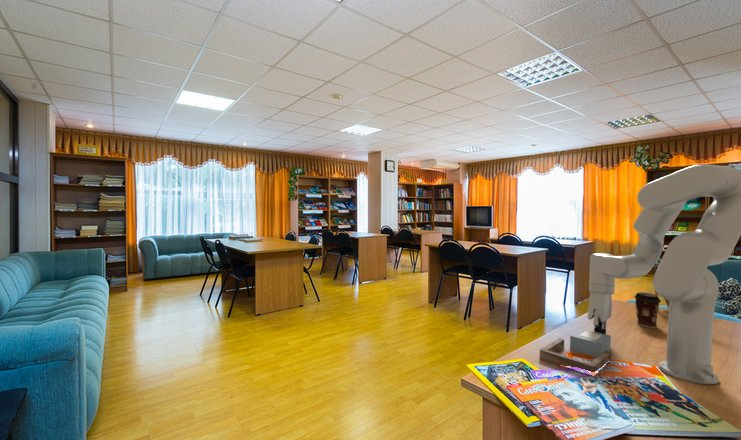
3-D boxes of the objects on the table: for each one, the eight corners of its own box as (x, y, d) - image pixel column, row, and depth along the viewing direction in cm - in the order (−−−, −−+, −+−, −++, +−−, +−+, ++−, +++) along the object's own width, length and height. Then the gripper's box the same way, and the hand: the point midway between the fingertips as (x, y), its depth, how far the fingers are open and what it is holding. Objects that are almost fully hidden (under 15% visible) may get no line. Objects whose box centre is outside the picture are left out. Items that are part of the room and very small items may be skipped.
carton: (580, 342, 124) (581, 328, 124) (610, 350, 118) (610, 335, 117) (569, 350, 117) (570, 335, 117) (600, 359, 110) (601, 343, 110)
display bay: (559, 346, 119) (559, 338, 119) (610, 361, 108) (610, 352, 108) (539, 359, 109) (539, 349, 109) (593, 377, 98) (594, 366, 97)
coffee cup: (628, 323, 145) (629, 292, 145) (640, 320, 149) (641, 290, 148) (652, 329, 137) (654, 297, 137) (664, 327, 141) (665, 295, 140)
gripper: (596, 283, 131) (595, 331, 131) (582, 289, 121) (580, 340, 122) (620, 287, 125) (618, 337, 125) (607, 293, 115) (605, 347, 116)
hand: (599, 338), depth 123 cm, fingers closed
